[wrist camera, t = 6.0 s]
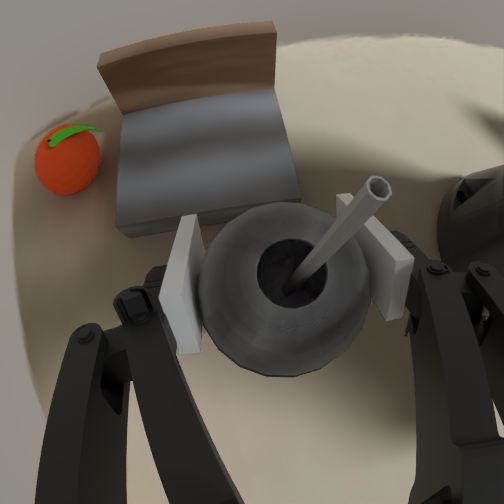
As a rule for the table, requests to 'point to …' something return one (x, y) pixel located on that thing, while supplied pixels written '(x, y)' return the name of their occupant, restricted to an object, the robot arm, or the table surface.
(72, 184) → the clementine
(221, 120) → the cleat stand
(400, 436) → the table surface
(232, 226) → the beverage cup
